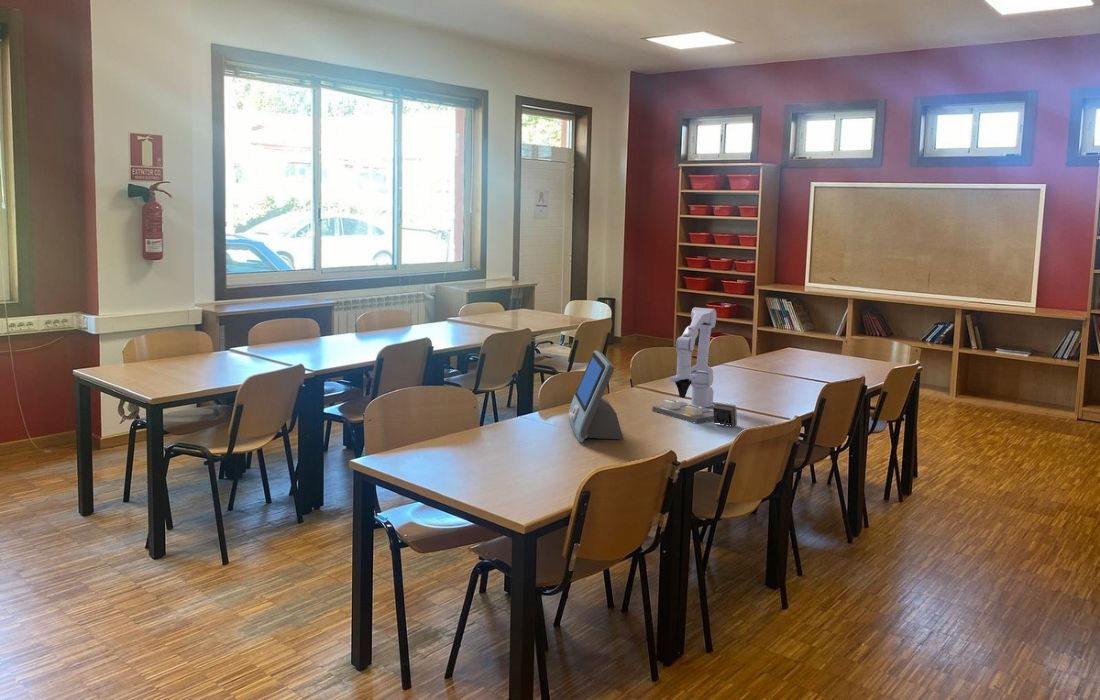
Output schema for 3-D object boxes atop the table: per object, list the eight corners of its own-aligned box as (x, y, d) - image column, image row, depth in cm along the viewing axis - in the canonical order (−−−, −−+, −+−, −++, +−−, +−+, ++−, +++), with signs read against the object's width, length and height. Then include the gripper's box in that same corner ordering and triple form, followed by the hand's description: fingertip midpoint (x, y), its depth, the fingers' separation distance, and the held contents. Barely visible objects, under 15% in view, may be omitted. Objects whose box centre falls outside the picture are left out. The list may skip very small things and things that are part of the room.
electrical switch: (737, 425, 351) (737, 404, 349) (732, 429, 347) (733, 407, 344) (715, 422, 356) (716, 400, 354) (710, 425, 352) (711, 404, 349)
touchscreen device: (564, 420, 352) (568, 347, 347) (611, 422, 354) (616, 350, 349) (573, 443, 317) (579, 363, 313) (626, 445, 319) (632, 365, 315)
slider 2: (693, 411, 364) (693, 403, 363) (702, 414, 360) (702, 405, 359) (684, 413, 361) (685, 404, 360) (693, 415, 357) (694, 407, 356)
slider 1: (671, 405, 374) (671, 397, 373) (679, 408, 370) (680, 399, 369) (663, 407, 371) (663, 399, 370) (671, 409, 367) (671, 401, 366)
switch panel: (681, 406, 384) (682, 401, 383) (726, 418, 363) (726, 413, 363) (652, 410, 373) (652, 406, 373) (696, 423, 352) (696, 418, 352)
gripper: (678, 368, 352) (677, 400, 354) (703, 365, 361) (701, 397, 363) (666, 365, 358) (664, 397, 360) (690, 362, 367) (688, 394, 369)
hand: (682, 397), depth 362 cm, fingers closed
